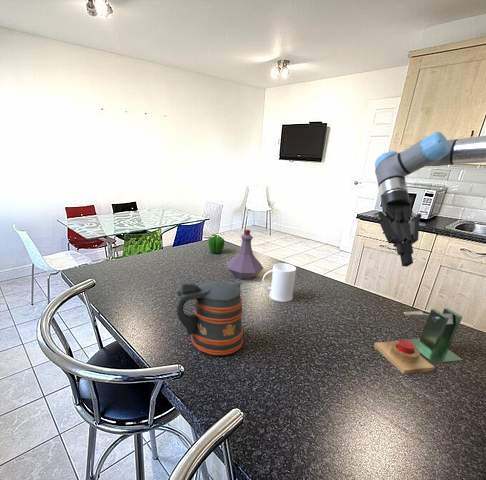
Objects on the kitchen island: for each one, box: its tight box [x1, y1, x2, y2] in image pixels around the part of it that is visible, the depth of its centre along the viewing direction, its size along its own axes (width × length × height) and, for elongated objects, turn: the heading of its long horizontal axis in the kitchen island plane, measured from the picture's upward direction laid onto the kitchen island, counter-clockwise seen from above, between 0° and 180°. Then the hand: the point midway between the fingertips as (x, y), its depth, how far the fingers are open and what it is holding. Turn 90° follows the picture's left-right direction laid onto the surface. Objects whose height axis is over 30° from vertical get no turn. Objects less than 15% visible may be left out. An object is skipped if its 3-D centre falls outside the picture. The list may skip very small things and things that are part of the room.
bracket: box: [404, 307, 464, 364], centre depth 78 cm, size 10×9×13 cm
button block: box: [373, 340, 436, 375], centre depth 77 cm, size 8×11×4 cm
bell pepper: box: [207, 233, 225, 254], centre depth 152 cm, size 8×8×10 cm
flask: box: [226, 229, 265, 280], centre depth 123 cm, size 16×16×20 cm
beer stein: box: [176, 280, 244, 357], centre depth 79 cm, size 19×15×20 cm
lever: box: [401, 310, 453, 324], centre depth 81 cm, size 12×6×2 cm, turn 9°
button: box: [397, 339, 415, 354], centre depth 76 cm, size 4×4×2 cm
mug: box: [261, 262, 297, 303], centre depth 107 cm, size 12×8×12 cm
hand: (407, 264), depth 84 cm, fingers closed
